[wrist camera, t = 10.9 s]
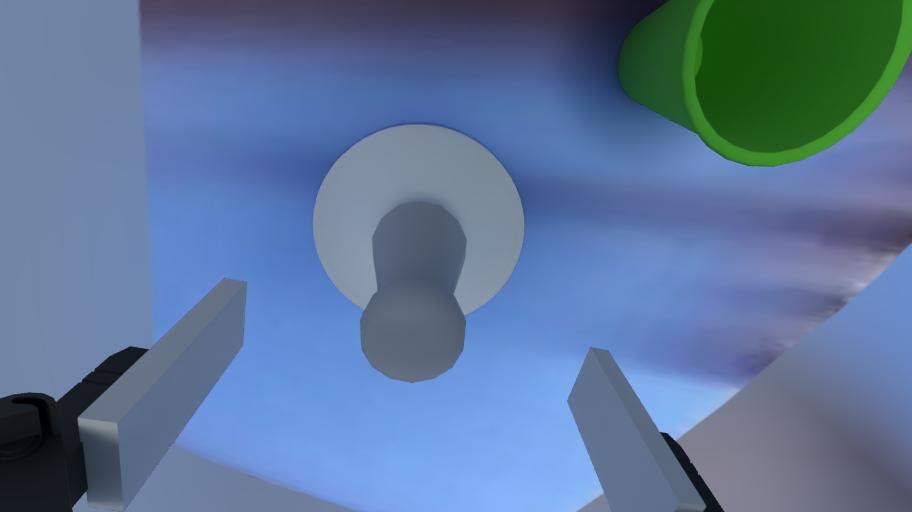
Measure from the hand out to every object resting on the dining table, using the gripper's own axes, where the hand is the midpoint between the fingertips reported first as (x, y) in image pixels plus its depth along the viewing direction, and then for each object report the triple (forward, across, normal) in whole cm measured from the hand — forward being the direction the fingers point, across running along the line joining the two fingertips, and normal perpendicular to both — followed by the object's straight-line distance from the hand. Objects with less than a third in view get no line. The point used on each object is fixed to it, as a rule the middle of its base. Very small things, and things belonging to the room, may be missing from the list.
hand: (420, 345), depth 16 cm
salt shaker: (+13, 0, 0) cm, 13 cm away
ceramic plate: (+14, 0, 0) cm, 14 cm away
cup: (+15, +12, +14) cm, 23 cm away
